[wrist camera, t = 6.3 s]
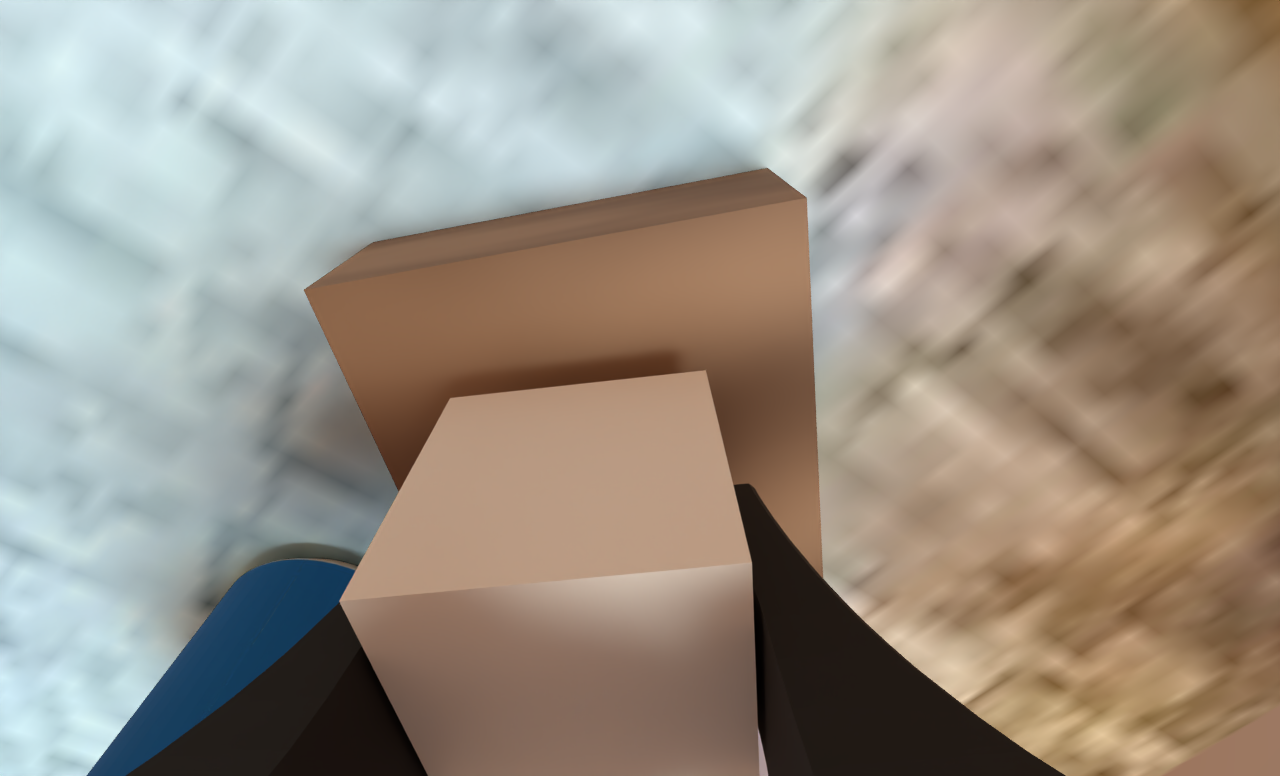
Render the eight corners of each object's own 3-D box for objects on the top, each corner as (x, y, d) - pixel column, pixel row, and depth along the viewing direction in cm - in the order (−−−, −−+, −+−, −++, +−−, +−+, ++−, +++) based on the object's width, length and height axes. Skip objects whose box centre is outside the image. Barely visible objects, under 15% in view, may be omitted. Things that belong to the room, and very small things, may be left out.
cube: (719, 561, 14) (760, 795, 9) (507, 581, 14) (449, 817, 10) (705, 370, 11) (752, 563, 7) (450, 398, 12) (339, 600, 7)
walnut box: (788, 484, 19) (822, 578, 16) (492, 528, 20) (462, 626, 17) (764, 166, 15) (806, 198, 11) (378, 238, 15) (303, 289, 12)
